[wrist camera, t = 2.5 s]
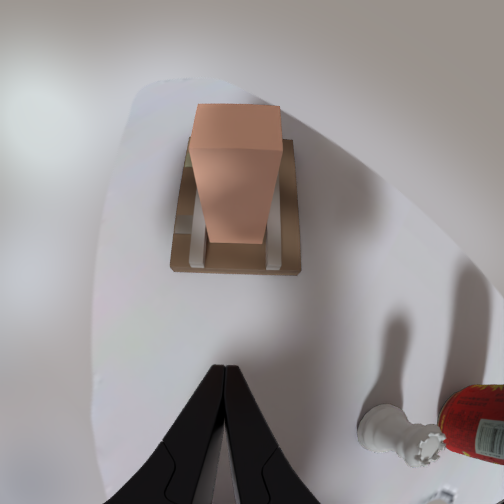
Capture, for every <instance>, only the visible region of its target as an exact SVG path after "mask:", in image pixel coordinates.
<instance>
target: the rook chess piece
mask: <svg viewBox="0 0 504 504" xmlns="http://www.w3.org/2000/svg"><path fill="white" fill-rule="evenodd" d="M357 435H358V441H359V443H360V444H361V446H362V447H363V448H365V449H367V450H370V451H372V452H374V453H384V452H389V451H392V452H396V453H397V455H398V456H399V457H400V458H402V459H405V462H406V464H407V465H408V466H410V467H412V468H416V467H421V466H423V467H426V466H429V465H430V461H433V462H436V461H437V460H438V459H439V458H440V456H439V455H437V454H438V452H439V451H440V450H442V451H444V450H445V447H446V444H445V443H442V440H443V441H444V440H445V439H446V436H445V434H443V433H442V432H441V430H440V428H439V426H437V425H435V424H429V425H426V426H424V425H422V424H412V423H410V422H409V421H408V419H407V416H406V415H405V413H404V411H403V410H401V409H400V408H398V407H396V406H393V405H392V404H381V405H378V406H376V407H373V408H372V409H371V410H370V411H369V412H367V413H366V414H365V416H364V417H363V419H362V420H361V422H360V424H359V428H358V431H357Z"/></svg>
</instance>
